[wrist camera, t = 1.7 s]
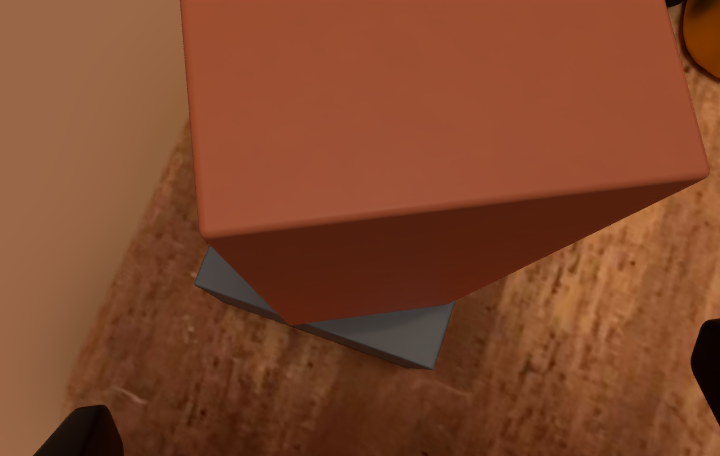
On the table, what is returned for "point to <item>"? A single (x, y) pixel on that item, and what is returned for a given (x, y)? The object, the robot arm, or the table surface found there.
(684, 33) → the element tile
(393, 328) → the stand
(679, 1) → the camera
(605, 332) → the table surface
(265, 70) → the tea carton
